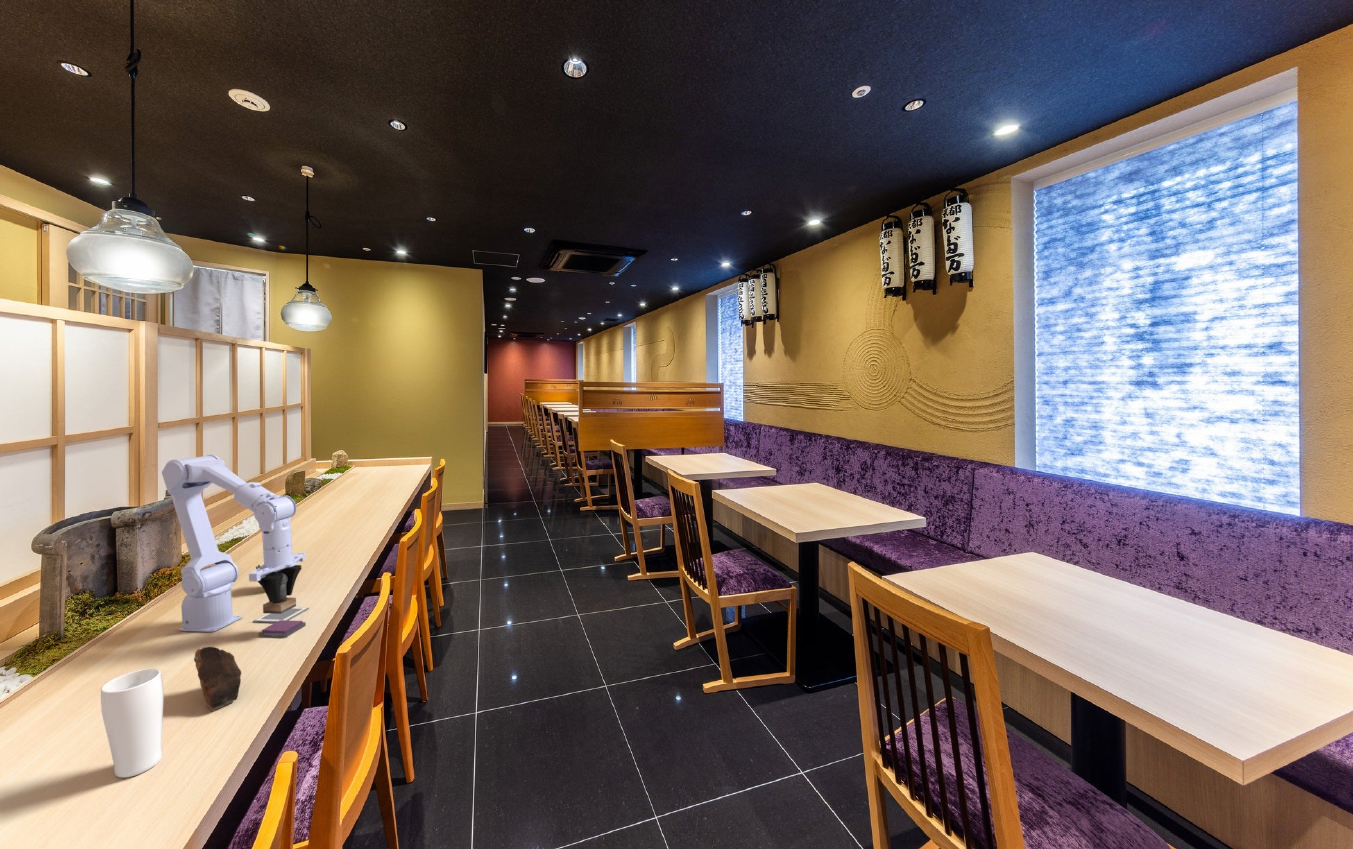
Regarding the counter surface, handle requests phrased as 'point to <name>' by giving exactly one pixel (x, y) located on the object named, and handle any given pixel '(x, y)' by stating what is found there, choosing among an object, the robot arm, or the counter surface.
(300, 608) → the stamping board
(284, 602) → the wooden stamp
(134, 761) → the white tumbler
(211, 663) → the decorative rock
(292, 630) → the ink pad
